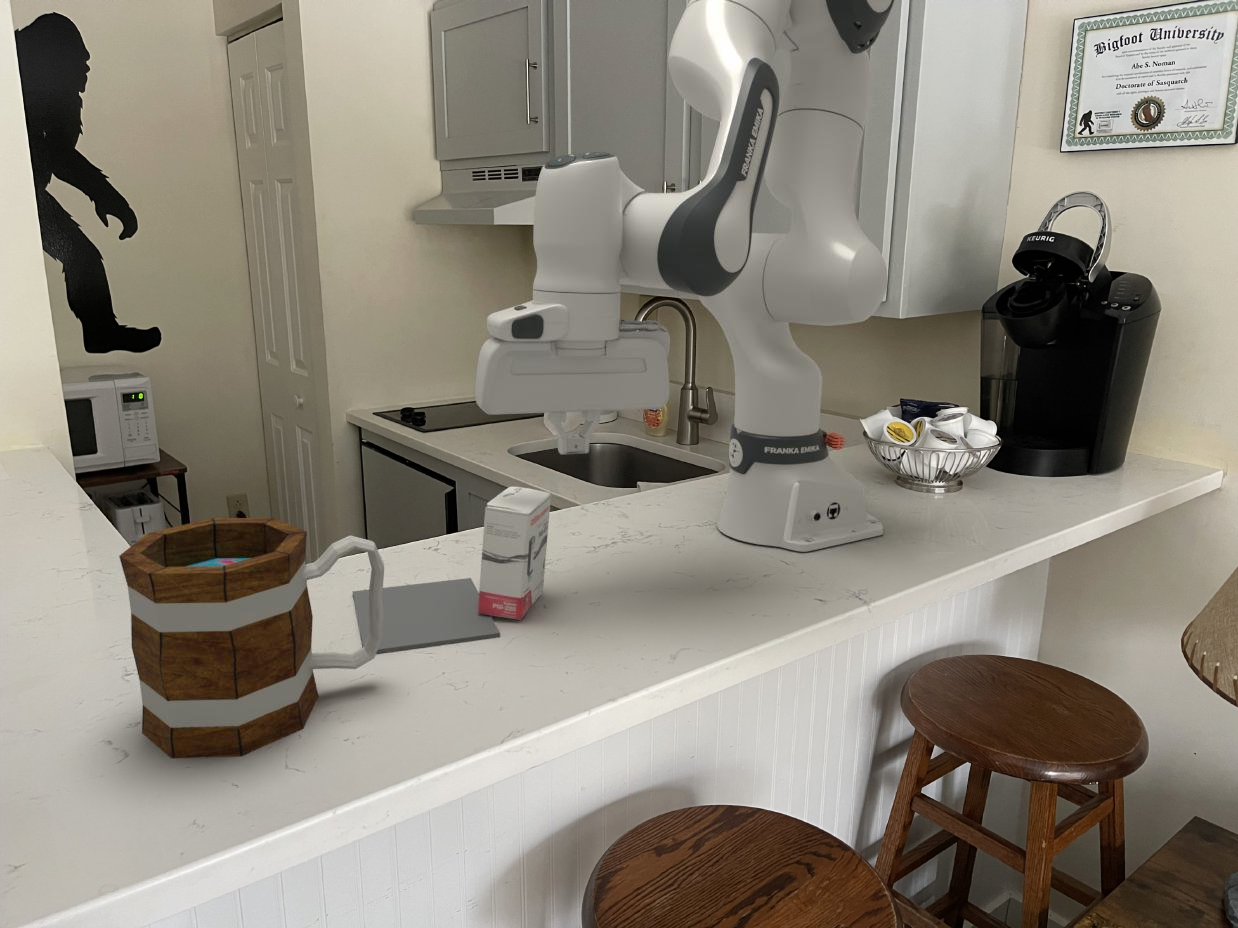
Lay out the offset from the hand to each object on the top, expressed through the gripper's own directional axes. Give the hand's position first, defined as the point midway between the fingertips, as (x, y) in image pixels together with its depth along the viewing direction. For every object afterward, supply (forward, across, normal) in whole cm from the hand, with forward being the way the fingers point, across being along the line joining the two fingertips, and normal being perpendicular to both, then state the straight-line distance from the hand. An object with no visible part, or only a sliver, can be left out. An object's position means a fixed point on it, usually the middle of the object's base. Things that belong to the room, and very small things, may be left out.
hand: (573, 452), depth 94 cm
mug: (+18, +30, +14) cm, 38 cm away
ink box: (+17, +6, 0) cm, 18 cm away
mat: (+17, +16, -1) cm, 23 cm away
